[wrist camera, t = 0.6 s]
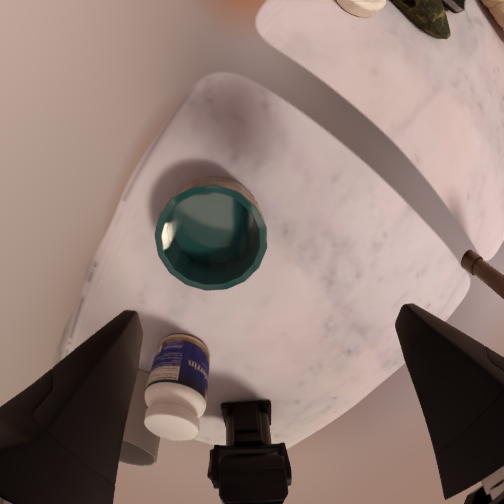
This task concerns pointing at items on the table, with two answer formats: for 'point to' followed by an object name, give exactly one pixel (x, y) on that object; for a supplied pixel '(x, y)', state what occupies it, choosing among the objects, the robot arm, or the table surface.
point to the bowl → (212, 234)
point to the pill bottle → (177, 388)
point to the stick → (483, 271)
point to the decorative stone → (427, 16)
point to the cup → (139, 429)
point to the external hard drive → (454, 5)
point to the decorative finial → (362, 6)
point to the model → (496, 10)
